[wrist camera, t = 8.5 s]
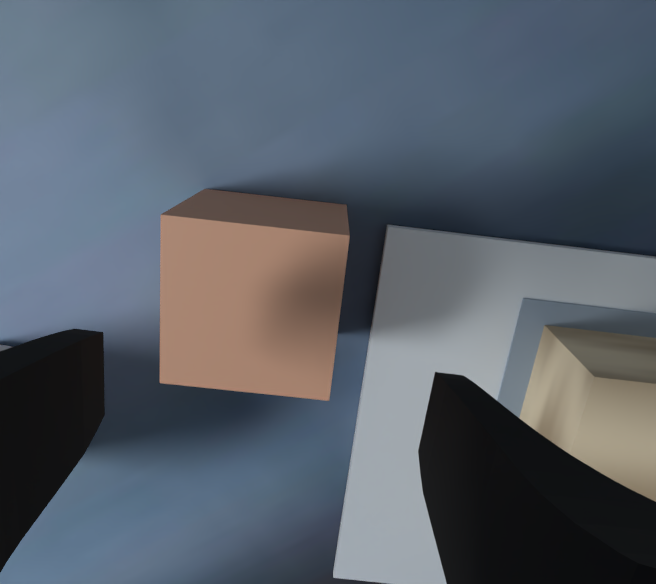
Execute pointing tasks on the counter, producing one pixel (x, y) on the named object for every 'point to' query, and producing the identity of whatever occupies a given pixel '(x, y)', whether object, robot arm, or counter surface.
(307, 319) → the cube
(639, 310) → the white flat plate
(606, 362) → the slab
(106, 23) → the counter surface
